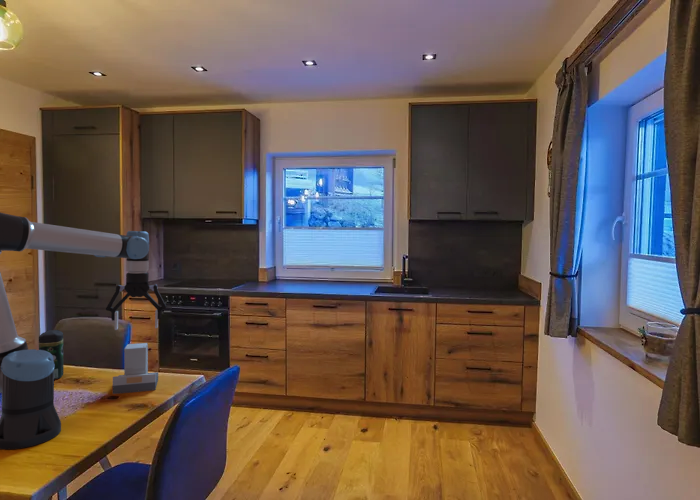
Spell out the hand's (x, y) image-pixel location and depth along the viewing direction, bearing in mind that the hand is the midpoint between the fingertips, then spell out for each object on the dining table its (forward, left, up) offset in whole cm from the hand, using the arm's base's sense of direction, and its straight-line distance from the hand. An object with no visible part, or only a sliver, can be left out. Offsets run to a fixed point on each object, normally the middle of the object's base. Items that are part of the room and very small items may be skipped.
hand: (136, 328), depth 159 cm
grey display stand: (0, 0, -22) cm, 22 cm away
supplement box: (0, 0, -19) cm, 19 cm away
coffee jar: (+20, +33, -22) cm, 45 cm away
